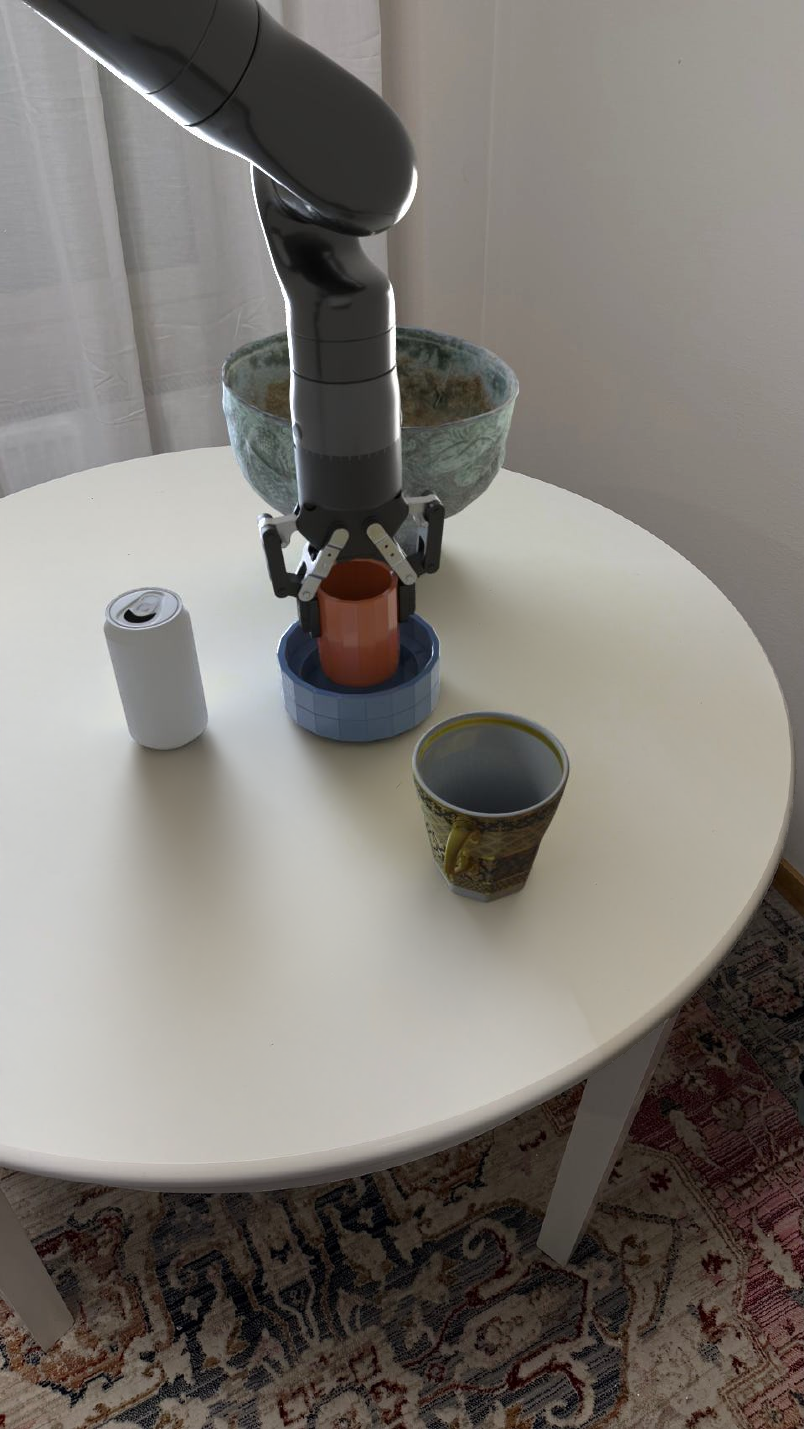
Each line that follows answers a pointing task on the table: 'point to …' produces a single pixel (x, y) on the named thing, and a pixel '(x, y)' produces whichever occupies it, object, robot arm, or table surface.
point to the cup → (359, 623)
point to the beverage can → (156, 667)
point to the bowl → (360, 707)
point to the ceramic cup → (488, 798)
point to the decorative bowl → (434, 434)
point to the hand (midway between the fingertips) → (357, 624)
